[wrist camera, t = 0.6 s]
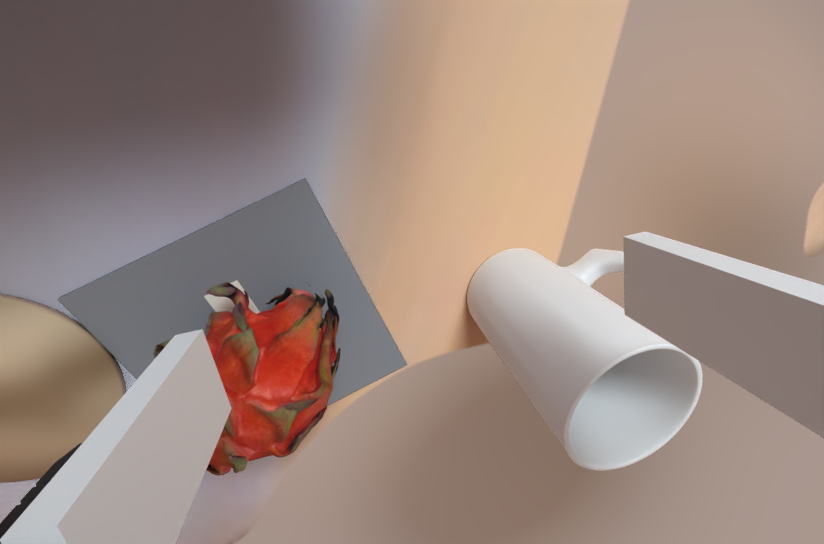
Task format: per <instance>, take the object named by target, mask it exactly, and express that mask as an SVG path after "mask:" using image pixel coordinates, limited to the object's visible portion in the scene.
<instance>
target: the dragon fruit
mask: <svg viewBox="0 0 824 544" xmlns="http://www.w3.org/2000/svg"><path fill="white" fill-rule="evenodd" d="M303 280H304V279H303ZM305 283H306V282H305ZM308 285H309V284H308ZM309 286H310V285H309ZM206 293H207V294H210V295H214V296H217V297H227V298H229V299H231V300H232V301H233V303H234V304H235V307H234V308H233V311H232V312H229V311H222V312H213V313H211V314H210V316H209V321H208V323H207V324H206V327H205V334H206V340H207V343H208V346H209V348H210V351H211V354H212V356H213V359H214V362H215V365H216V367H217V370H218V373H219V375H220V378H221V381H222V383H223V386H224V389H225V392H226V394H227V397H228V400H229V402H230V405H231V408H232V409H231V411H230V414H229V416H228V419H227V421H226V423H225V426H224V428H223V431H222V433H221V435H220V438H219V440H218V443H217V445H216V448H215V450H214V452H213V455H212V457H211V460H210V462H209V464H208V467H207V469H206V470H208V471H209V472H211V473H212V474H215V475H224V474H225V473H228V472H229V471H230V469H231V467H232V468H234V472H235V473H237V472H239V471H242V470H244V469H245V467H246V463H247V462H248V461H251V460H255V459H259V458H262V457H266V456H270V455H275V456H277V457H284V456H287V455H290V454H291V453H293V452H294V451H295V450H296V449H297V447H298V446H299V444H300V442H301V441H302V440H303V439H304V437H305V436H306V435H307V434H308V432H309V431H310V430H311V429H312V428H313V427H314V426H315V425H316V424H317V423H318V421H319V420H321V418H322V417H323V415H324V412H325V410H326V408H327V404H328V399H329V397H330V395H331V393H332V390H333V378H334V376H335V374H336V372H337V369H338V365H339V359H340V350H341V349H340V348H339V349H338V352H337V353H336V334H337V330H338V326H339V320H340V318H339V314H338V310H337V308H336V306H335V305H333V304H334V297H333V295H332V293H331V292H330V291H329V290H328V289H326V291H325V295H326V298H327V305H328V310H327V311H326V313H325V317H324V319H323V318H322V308H323V306H324V304H325V303H326V300H325V298H324V297H323V296H322V297H323V298H321V297H320V296H319V295H317V294H316V293H315V295H316V298H315V297H314V295H313V294H312V293H310V292H308V291H305V290H300V289H294V288H290V287H287V288H286V289H285V291H284V293H283V294H281V295H278V296H277V295H276V296H275V297H273V298H272V299H271V300H270V301H269V302H268V303H266V304H270V303H274V301H275V300H277V301H276V302H275V305H276V306H275V307H274V308H272V309H270V310H267V311H263V312H260V313H257V314H256V313H254V312H253V311H251V310H250V309H249V308H248V306H249V296H248V294H247V292H246V291H244V293H245V294H244V293H243V292H242V291H241V290H240V289H238V288H237V287H235V286H234V285H232V284H230V283H229V282H225V283H221V284H219V285H215V286H213V287H212V288H210V289H209V290H207V292H206ZM170 341H171V339H169V340H166V341H164V342H162V343H161V344H158V345H156V347H155V349H154V352H153V355H154V358H156V357H157V356H158V355H159V353H160V352H161V351H162V350H163V349H164V348H165V346H166V345H167V344H168V343H169V342H170ZM337 362H338V365H337ZM333 363H335V364H334V366H332V365H333Z"/></svg>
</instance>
